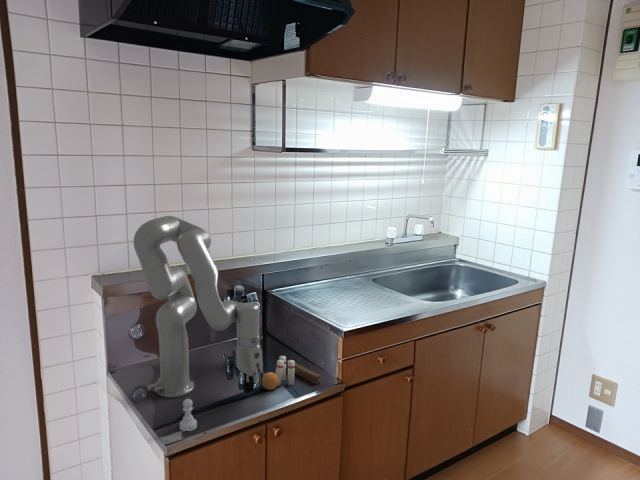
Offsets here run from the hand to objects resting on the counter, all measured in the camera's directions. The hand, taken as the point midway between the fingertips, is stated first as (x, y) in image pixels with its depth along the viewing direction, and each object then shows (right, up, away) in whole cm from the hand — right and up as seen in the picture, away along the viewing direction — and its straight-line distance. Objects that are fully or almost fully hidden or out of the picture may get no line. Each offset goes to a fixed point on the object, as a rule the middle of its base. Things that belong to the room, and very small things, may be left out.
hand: (248, 391), depth 167 cm
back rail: (+18, +1, +16) cm, 24 cm away
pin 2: (+14, 0, +10) cm, 17 cm away
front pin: (+9, 0, +9) cm, 12 cm away
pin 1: (+10, 0, +13) cm, 17 cm away
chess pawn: (-15, -5, -20) cm, 26 cm away
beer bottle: (-2, +3, +28) cm, 28 cm away
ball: (+7, +2, +5) cm, 9 cm away
